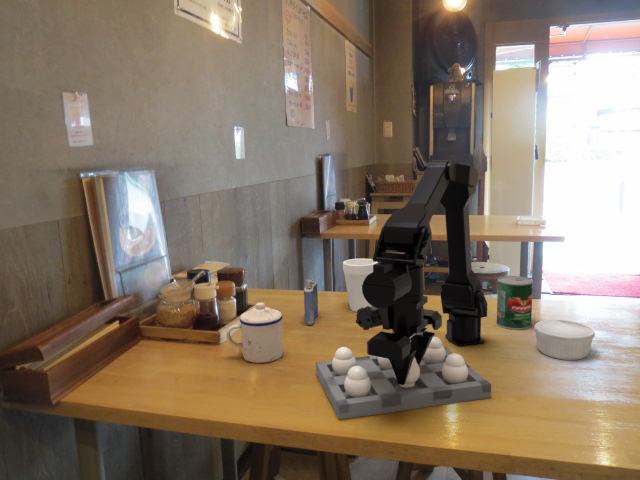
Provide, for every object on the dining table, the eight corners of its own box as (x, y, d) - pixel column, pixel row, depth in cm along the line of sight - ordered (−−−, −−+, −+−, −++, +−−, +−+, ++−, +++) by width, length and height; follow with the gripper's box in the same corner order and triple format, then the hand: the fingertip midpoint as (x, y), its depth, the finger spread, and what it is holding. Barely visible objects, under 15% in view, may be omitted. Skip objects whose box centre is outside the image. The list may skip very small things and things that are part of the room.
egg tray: (316, 374, 102) (315, 341, 101) (444, 358, 108) (445, 327, 106) (339, 419, 85) (337, 380, 84) (490, 397, 90) (491, 360, 89)
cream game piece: (414, 377, 94) (413, 347, 93) (424, 388, 90) (424, 356, 89) (389, 380, 93) (389, 349, 92) (398, 391, 89) (398, 359, 88)
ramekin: (600, 350, 109) (601, 325, 108) (583, 367, 101) (584, 341, 100) (545, 338, 116) (546, 315, 116) (525, 353, 108) (526, 329, 108)
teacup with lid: (283, 346, 118) (280, 296, 116) (285, 362, 109) (282, 308, 107) (229, 350, 117) (226, 299, 115) (227, 366, 108) (223, 312, 106)
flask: (314, 326, 130) (312, 284, 129) (302, 325, 131) (300, 284, 129) (319, 314, 139) (317, 275, 138) (308, 314, 140) (306, 275, 138)
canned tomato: (519, 332, 121) (521, 286, 119) (489, 324, 127) (490, 280, 125) (537, 324, 125) (539, 279, 124) (508, 316, 132) (509, 274, 130)
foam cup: (355, 316, 137) (354, 267, 135) (338, 307, 145) (336, 261, 143) (385, 309, 141) (384, 262, 139) (367, 301, 149) (366, 257, 147)
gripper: (387, 275, 101) (388, 352, 103) (337, 300, 85) (340, 390, 88) (442, 281, 95) (442, 362, 97) (400, 309, 79) (401, 405, 82)
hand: (407, 378), depth 91 cm, fingers closed on cream game piece, 5 cm apart
